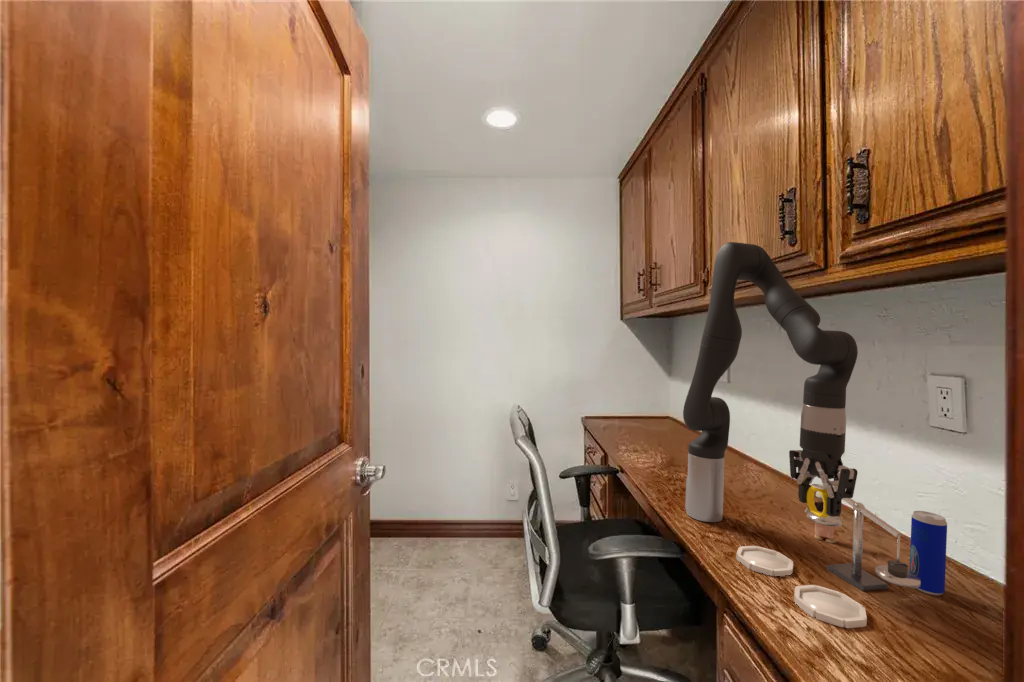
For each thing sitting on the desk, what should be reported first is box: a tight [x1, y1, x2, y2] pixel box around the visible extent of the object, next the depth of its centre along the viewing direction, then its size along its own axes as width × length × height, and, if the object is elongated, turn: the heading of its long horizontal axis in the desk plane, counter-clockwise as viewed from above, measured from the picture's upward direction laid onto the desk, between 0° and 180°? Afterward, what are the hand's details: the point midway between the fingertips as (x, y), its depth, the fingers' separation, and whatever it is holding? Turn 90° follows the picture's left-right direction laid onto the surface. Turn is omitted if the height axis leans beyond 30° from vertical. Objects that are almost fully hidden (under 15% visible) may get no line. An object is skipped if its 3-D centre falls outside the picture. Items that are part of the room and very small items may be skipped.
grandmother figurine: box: [804, 491, 844, 544], centre depth 108 cm, size 8×4×13 cm, turn 56°
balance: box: [806, 484, 921, 592], centre depth 90 cm, size 22×6×18 cm, turn 10°
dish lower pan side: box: [793, 584, 868, 629], centre depth 79 cm, size 11×11×1 cm
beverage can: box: [909, 510, 948, 597], centre depth 87 cm, size 5×5×15 cm
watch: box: [806, 483, 829, 518], centre depth 88 cm, size 6×3×6 cm, turn 176°
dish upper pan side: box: [735, 545, 794, 577], centre depth 95 cm, size 11×11×1 cm
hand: (818, 508), depth 88 cm, fingers closed on watch, 6 cm apart
